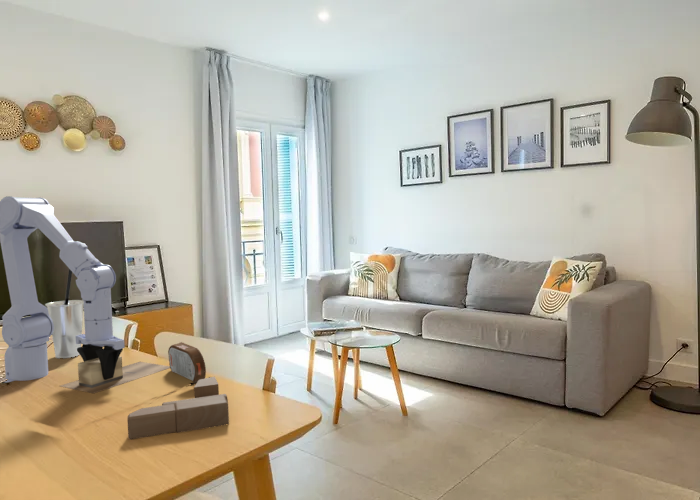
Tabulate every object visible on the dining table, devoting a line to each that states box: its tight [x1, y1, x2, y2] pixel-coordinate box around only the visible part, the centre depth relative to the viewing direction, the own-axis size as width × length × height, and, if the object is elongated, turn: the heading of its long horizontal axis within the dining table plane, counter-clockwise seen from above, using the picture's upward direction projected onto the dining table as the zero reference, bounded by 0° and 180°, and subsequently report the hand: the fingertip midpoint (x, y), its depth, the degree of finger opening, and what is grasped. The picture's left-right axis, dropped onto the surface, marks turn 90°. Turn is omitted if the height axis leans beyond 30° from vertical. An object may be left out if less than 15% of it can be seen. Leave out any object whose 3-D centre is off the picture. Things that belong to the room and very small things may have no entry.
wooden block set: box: [127, 376, 230, 440], centre depth 101 cm, size 17×6×18 cm
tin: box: [167, 341, 207, 386], centre depth 124 cm, size 15×3×8 cm, turn 42°
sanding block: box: [77, 356, 123, 388], centre depth 120 cm, size 4×8×5 cm, turn 152°
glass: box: [44, 268, 84, 359], centre depth 149 cm, size 11×11×30 cm
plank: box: [59, 361, 170, 394], centre depth 125 cm, size 12×22×1 cm, turn 152°
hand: (101, 377), depth 120 cm, fingers closed on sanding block, 4 cm apart
